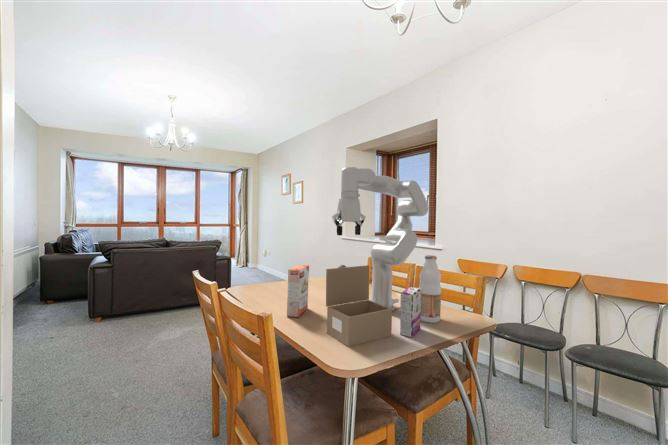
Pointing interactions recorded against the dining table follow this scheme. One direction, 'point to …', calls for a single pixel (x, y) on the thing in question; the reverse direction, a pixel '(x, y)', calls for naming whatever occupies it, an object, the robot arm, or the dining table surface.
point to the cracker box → (297, 290)
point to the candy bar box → (410, 311)
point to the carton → (359, 322)
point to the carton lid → (347, 284)
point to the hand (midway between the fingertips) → (348, 235)
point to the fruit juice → (430, 290)
